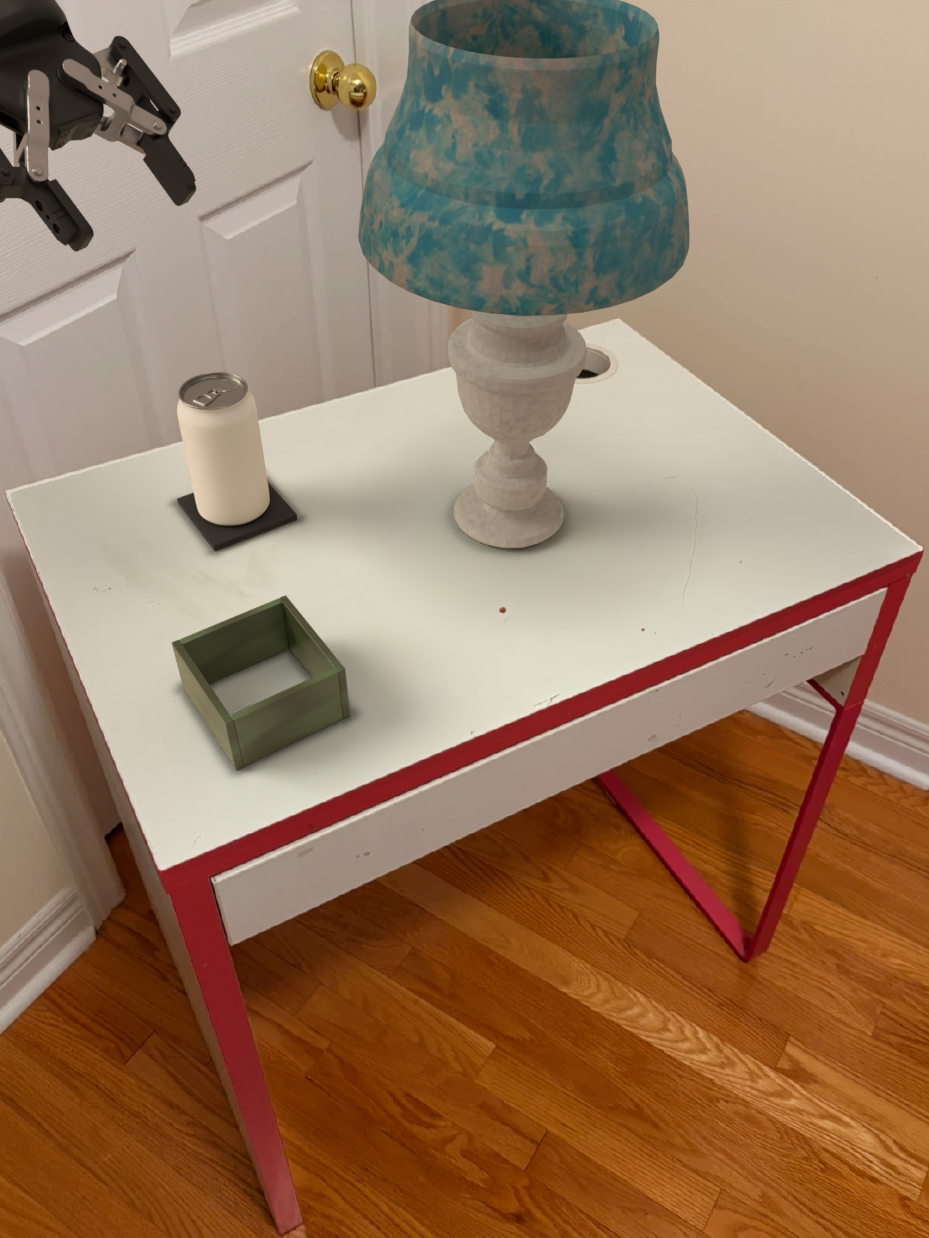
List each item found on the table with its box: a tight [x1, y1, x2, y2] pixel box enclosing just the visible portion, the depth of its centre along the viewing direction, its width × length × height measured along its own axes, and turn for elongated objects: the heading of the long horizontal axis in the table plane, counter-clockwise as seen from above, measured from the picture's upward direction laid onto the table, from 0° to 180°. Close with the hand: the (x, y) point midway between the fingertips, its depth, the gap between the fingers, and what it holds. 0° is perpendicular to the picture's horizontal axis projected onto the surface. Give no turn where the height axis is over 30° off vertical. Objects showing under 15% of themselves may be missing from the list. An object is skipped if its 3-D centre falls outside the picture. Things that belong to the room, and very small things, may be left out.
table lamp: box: [357, 0, 691, 549], centre depth 80 cm, size 24×24×40 cm
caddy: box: [171, 594, 351, 771], centre depth 76 cm, size 9×9×5 cm
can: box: [176, 371, 270, 526], centre depth 90 cm, size 6×6×12 cm
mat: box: [176, 482, 298, 552], centre depth 94 cm, size 8×8×1 cm
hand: (139, 220), depth 67 cm, fingers open, 8 cm apart
